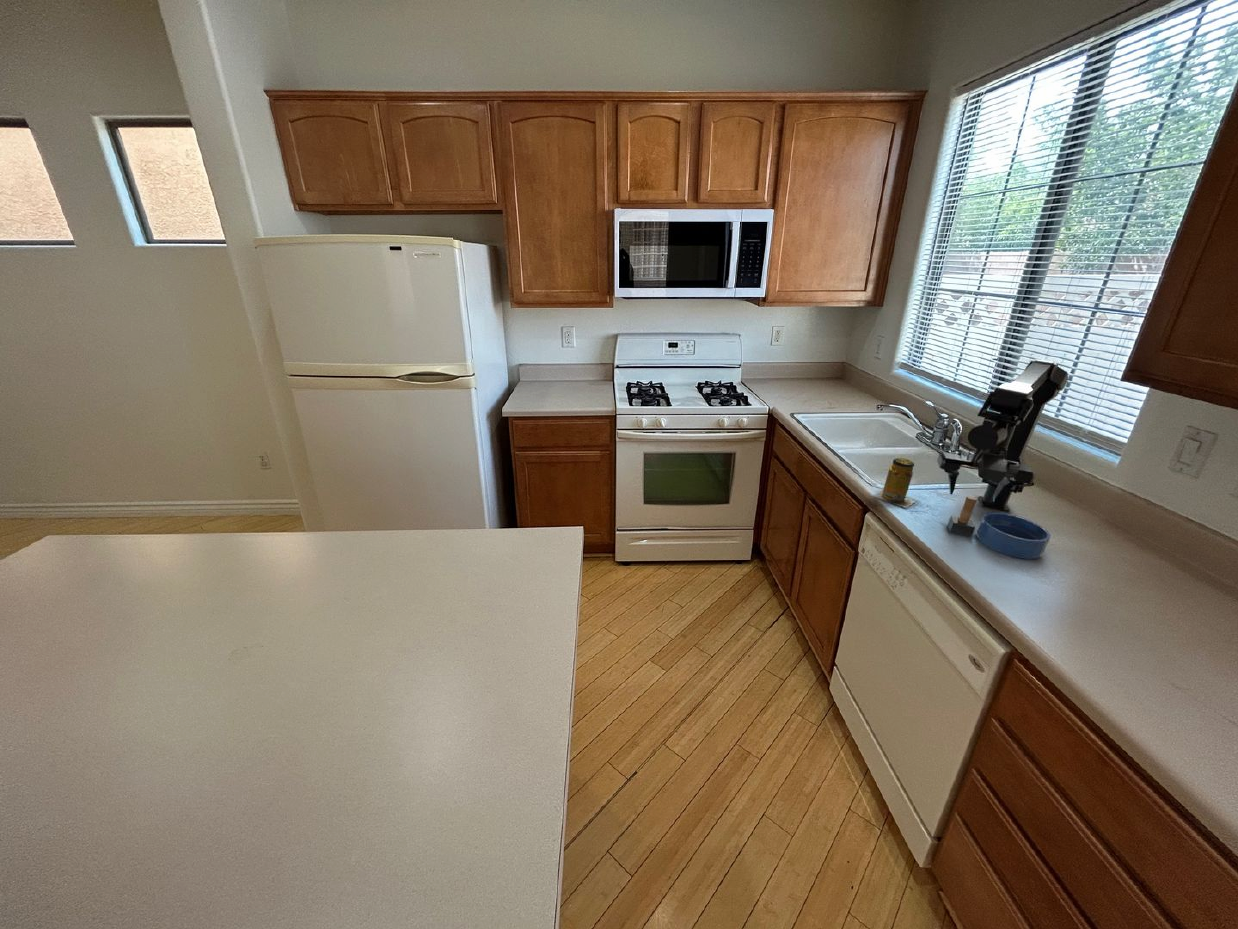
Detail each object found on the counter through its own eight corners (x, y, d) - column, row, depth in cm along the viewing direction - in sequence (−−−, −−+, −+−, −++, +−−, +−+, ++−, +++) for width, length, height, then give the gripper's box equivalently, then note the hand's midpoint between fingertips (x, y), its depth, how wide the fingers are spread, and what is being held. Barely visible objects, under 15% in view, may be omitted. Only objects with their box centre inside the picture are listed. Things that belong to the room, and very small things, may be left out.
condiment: (886, 490, 144) (897, 454, 139) (916, 501, 138) (928, 464, 133) (875, 497, 140) (886, 460, 135) (905, 509, 134) (917, 470, 129)
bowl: (970, 526, 126) (977, 508, 124) (1031, 538, 122) (1039, 520, 119) (982, 551, 115) (990, 532, 113) (1049, 566, 111) (1058, 546, 108)
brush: (947, 525, 126) (959, 492, 122) (968, 529, 125) (981, 496, 120) (949, 532, 123) (962, 498, 119) (971, 537, 121) (985, 503, 117)
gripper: (954, 444, 110) (934, 503, 116) (1054, 460, 103) (1026, 521, 110) (946, 430, 119) (928, 485, 126) (1037, 443, 112) (1013, 500, 119)
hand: (972, 497), depth 120 cm, fingers open, 9 cm apart
